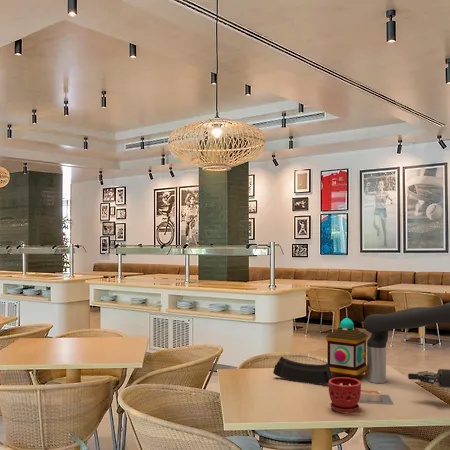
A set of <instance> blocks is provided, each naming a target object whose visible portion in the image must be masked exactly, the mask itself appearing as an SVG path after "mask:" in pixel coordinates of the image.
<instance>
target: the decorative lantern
mask: <svg viewBox="0 0 450 450" xmlns="http://www.w3.org/2000/svg"><path fill="white" fill-rule="evenodd" d="M356 327H357V326H354V322H353V320H352V319H350V318H348V317H345V318H343V319H342V320H341V321H340V324H339V326H338V327H337V328H336V329H335V330H334V331H331V332H329V333H328V334H327V335H326V336H325V339H326V342H327V360H326V361H327V363H328V366H329V368H330V371H331V374H338V375H344V376H349V377H352V378H354V379H357V380H359V376H360V375H362V374H364V375H365V376H366V377H367V340H368V339H369V335H367V334H366V333H365V332H364V331H360V330H359V329H358V328H356ZM327 363H326V364H327Z"/></svg>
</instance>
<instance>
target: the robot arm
mask: <svg viewBox="0 0 450 450" xmlns="http://www.w3.org/2000/svg"><path fill="white" fill-rule="evenodd" d="M448 323H450V301H449V302H447V303H442V304H440V305H436V306H435V305H434V306H432V307H431V306H430V307H429V306H428V307H427V306H426V307H424V306H421V307H418V306H417V307H411V308H406V309H402V310H397V311H394V312H390V313H386V314H383V313H374V314H373V313H372V314H369V315H368V316H366V317H365V318H364V320H363V328H364V330H366V331H367V333H371V335H370V337H368V338H367V340H366V365H367V376H366V381H367V382H369V383H374V384H385V383H386V382H387V344H388V340H389V339H388V338H389V330H409V329H417V328H422V327H426V326H430V325H434V324H448ZM407 378H408V379H409V380H416V381H420V382H421V383H426V384H430V385H434V384H435V383H437V385H438V387H440V388H447V389H448V388H449V389H450V369H446V368H439V369H438V370H437V372H436V373H434V372H433V371H428V370H425V371H419V372H417V373H410V372H409V373H408V374H407Z"/></svg>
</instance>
